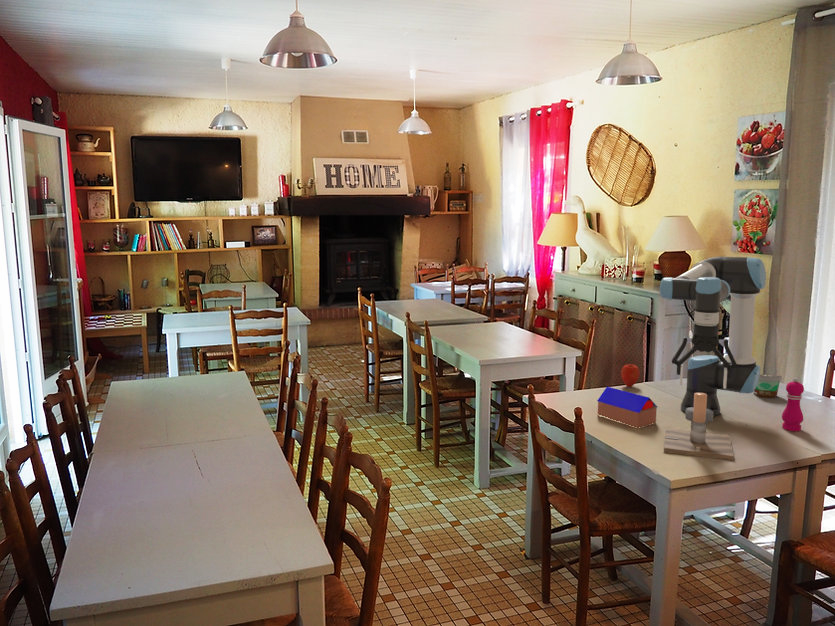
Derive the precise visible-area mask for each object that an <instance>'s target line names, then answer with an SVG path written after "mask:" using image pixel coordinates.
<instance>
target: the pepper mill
mask: <svg viewBox="0 0 835 626" xmlns="http://www.w3.org/2000/svg"><path fill="white" fill-rule="evenodd" d="M785 390H786V398H787V401H786V402H787V403H786V406H785V408H784V409H783V411H782V414H781V419H782V420H783V423H782V429H784V430H786V431H790V432H800V431H802V423H803V421H804V414H803V411H802V409H801V400H802V399H803V398H802V397H803V396H802V394H803V393H804V392H805V387H804V385H803V383H801V382H800V381H799V379H798V377H794V378H793V379H792V381H790V382H788V383H787V384H786V386H785Z"/></svg>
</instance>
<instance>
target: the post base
mask: <svg viewBox="0 0 835 626" xmlns="http://www.w3.org/2000/svg"><path fill="white" fill-rule="evenodd" d="M690 422H691V423H690V430H685V429H684V430H683V429H681V430H680V429H673V428H665V431H664V444H663V452H664V453H667V452H668V453H667V454H669V453H670V454H677V455H685V456H692V457H693V456H695V457H700V458H701V457H702V458H703V457H704V458H712V459H718V460H719V459H721V460H729V461H734V459H735V457H734V451H733V447H732V442H731V437H730V435H729V434H723V433H722V434H719V433H711V432H707V423H703V426H695V422H692V421H690Z"/></svg>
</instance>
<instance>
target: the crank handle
mask: <svg viewBox="0 0 835 626" xmlns="http://www.w3.org/2000/svg"><path fill="white" fill-rule="evenodd" d="M706 406H707V394H705V393H694V407H690V408H687V409H686V413H685V415H684V416H685V419H686V420H687V421H690V422H691V421H692V422H695V426H703V423H706V424H709V423H712V422H713V421H714V416H713V411H712V410H710V409H706Z"/></svg>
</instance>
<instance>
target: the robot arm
mask: <svg viewBox="0 0 835 626" xmlns="http://www.w3.org/2000/svg"><path fill="white" fill-rule="evenodd" d="M766 273H767V272H766V267H765V263H764V260H762V259H760V258H758V257H757V258H756V257H751V256H722V255H721V256H715V257H714V256H713V257H709V258H706V259H703V260H701V261H699V262H698V261H697V262H695V264H694V265H692V266H691V269H690V270H689V269H688V271H686V272H684V273H682V274H680V275H679V276H676V277H663V278H662V279H661V281H660V283H659V295H660V297H661V298H662V299H667V300H677V301H689V302H690V301H691V302H695V303H694V305H695V306H694V315H693V316H694V321H693V322H694V324H693V334H692V335H693V336H692V337H687V336H683V339H682V343H681V344H680V346H679V348H678V349H677V351H676V352H675V354H674V356H673V357H672V359H671V363H672V364H673V365H676V375H677V376H679V386H683V377H684V376H683V375H684V363H685V362H686V361H687V360H688V362H687V363H688V364H687V369H686V370H687V373H686V388H685V389H686V391H685V394H684V396H683V398H682V401H681V404H680V410H681V411H682V412H683V413H685V414H686V409H687V408H690V407H694V393H705V394H707V406H706V409H710V410H712V411H713V417H714V416H715V417H716V416H719V415H720V414H721V405H720V401H719V398H718V394H717V393H718V390H720V391H727V392H734V393H739V394H748V395H749V394H752V393H753V392H754V390H755V388H756V386H757V383H758V379H759V375H761V366H760V365H758V364H757V360H756V359H755V357H754V356H753V345H754V344H753V343H754V329H755V328H754V326H755V311H756V297H757V296H758V295H760V293H761V290H762V289H765V287H766V281H767V274H766ZM729 296H730V309H729V329H728V330H729V332H728V333H729V334H728V339H727V338H723V339H719V325H718V324H719V322H720V321H719V320H720V306H721V305H720V304H721V302H724V301H726V299H727V298H728V297H729ZM690 343H692V345H693V346H692V347H691V348H690V349H689V350H688V351H687V352H686V353H685V354H684V355H683V356H682V357H681V358H680V356H681V355H682V353H683V351H684V350H685V348H686V347H687V345H688V344H690ZM719 344H720V345H721V346H722V347H723V348H724V350H725V352H726V355H725V356H724V355H723V354H722V353H721V352H720V351H719V349H718V348H717V346H718V345H719ZM697 351H699V352H700V353H701V352H702V353H703V352H706V353H710V352H713V353H714V354H715V355H714V354H713V355H711V354H710V355H708V354H707V355H705V354H704V355H696V356H695V355H694V356H692V355H693V354H694V353H696V352H697ZM678 359H679V360H678Z"/></svg>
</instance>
